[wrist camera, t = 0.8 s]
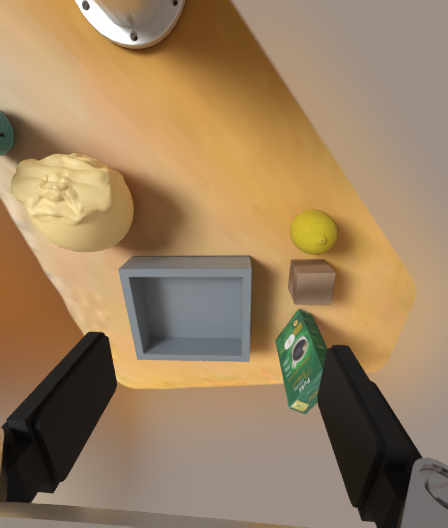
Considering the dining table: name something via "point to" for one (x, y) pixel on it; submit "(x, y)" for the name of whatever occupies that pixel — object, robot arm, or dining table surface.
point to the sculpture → (75, 201)
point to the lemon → (313, 232)
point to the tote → (189, 307)
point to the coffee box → (301, 360)
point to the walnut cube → (311, 282)
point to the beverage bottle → (5, 135)
